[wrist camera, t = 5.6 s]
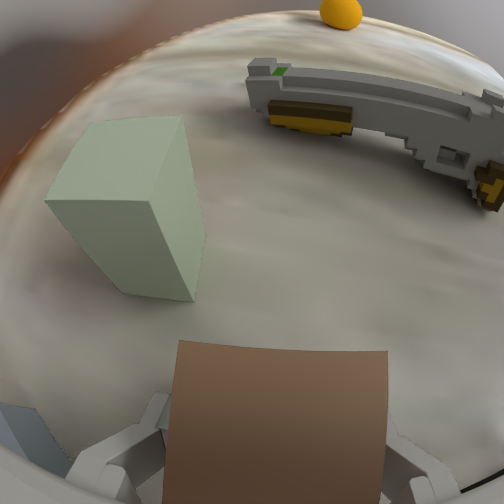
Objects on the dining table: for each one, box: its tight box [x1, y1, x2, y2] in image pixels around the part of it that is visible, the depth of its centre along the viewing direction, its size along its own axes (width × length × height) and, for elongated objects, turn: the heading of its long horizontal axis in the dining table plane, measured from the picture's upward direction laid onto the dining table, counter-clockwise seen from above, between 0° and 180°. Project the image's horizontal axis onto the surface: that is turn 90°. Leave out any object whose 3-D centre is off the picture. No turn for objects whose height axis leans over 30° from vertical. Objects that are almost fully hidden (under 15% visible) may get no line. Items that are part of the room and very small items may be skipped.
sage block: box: [44, 116, 206, 302], centre depth 14 cm, size 4×4×9 cm
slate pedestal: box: [0, 403, 73, 479], centre depth 8 cm, size 9×9×4 cm
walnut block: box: [162, 340, 388, 504], centre depth 9 cm, size 4×4×9 cm
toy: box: [245, 58, 504, 212], centre depth 21 cm, size 6×24×10 cm, turn 70°
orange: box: [320, 0, 362, 30], centre depth 39 cm, size 8×8×8 cm
